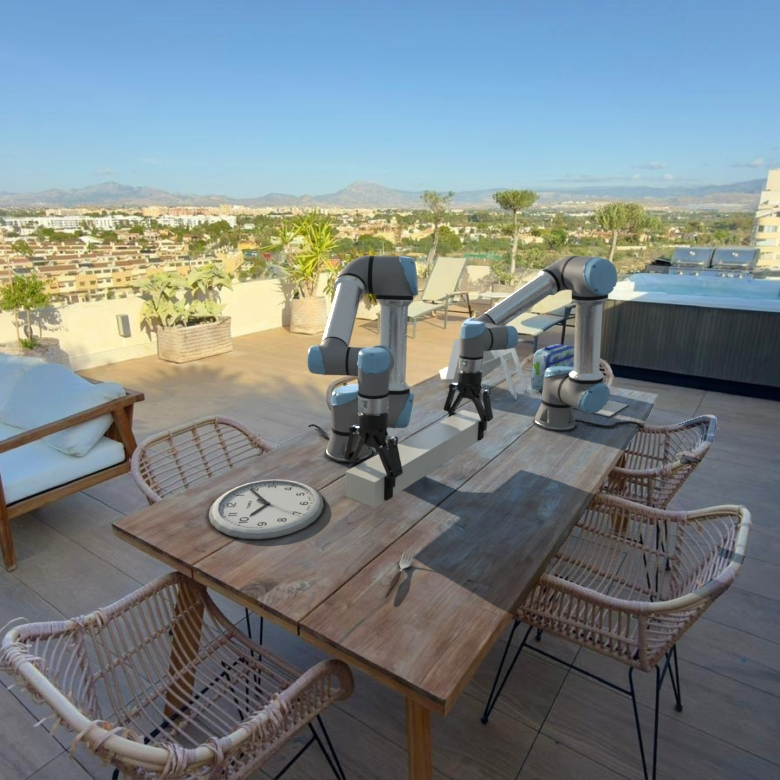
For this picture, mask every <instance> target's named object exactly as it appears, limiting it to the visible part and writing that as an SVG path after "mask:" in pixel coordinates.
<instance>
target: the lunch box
mask: <svg viewBox="0 0 780 780" xmlns="http://www.w3.org/2000/svg"><path fill="white" fill-rule="evenodd" d="M531 364H532V365H531V376H530V377H531V378H530V387H531V389H532V390H536V391H539V392H540V391H541V392H542V391H543V380H544V374H545V370H546V369H547V368H549V367H556V366H566V367H574V346H572V345H565V344H560V343H555V344H552V345H547V346H545V347H542V348H539V349H537V350H536V351H535V353H534V355H533V358H532V363H531Z"/></svg>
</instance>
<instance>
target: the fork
mask: <svg viewBox="0 0 780 780" xmlns="http://www.w3.org/2000/svg"><path fill="white" fill-rule="evenodd" d="M406 549H407V551H406ZM408 553H409V554H408ZM411 553H412V555H411ZM414 555H415V551H413V552H412V549H410V552H409V548H406V547H404V551H403V553H402V556H401V558H400V561H399V566H400V569H399V570H398V572H397V573H396V574H395V575H394V577H393V578H392V580H391V583H390V585H389V587H388V590H387V592H386V594H385V599H387V598H388V596H389V595H390V594H391V592H392V591H393V589H394V588H395V587H396V585H397V583H398V582H399V579H400V576H401V574H402V571H403V570H405V569H408V568H409V567H411V565H412V562H413V559H414ZM410 557H411V558H410Z"/></svg>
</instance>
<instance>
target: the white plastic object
mask: <svg viewBox="0 0 780 780" xmlns="http://www.w3.org/2000/svg"><path fill="white" fill-rule="evenodd" d="M459 352H460V338H459V339H458V338H454V340H453V344H452V349H451V353H450V357H449V362H448V366H446V367H444V368H442V369H440V370H439V371H438V372H439V376H440V381H442V383H443V384H444V385H445V386H449V384H451V383H453V382H455V383H456V384H458V371H459V370H460V369H459ZM510 360H513V363H514V366H515V369H516V372H517V376H518V380H519V382H520V385H521V389H522V391H523V393H524V395H525V396H526V397H528V396H531V395H530V390H529V388H528V387H529V386H528V384H527V381H526V378H525V375H524V371H523V369H522V368H523V367H522V366H521V362H520V359H519V355H518V352H517V349H516V347H514V348H511V349H506V350H492V351H484V354H483V369H482V370H481V372H482V381H484V378H485V377H486V376H487V375H489V374H490V373H492V372H494V371H495V370H496V369H497V368H499V367H500V366H502V370H503V373H504V376H505V380H506V383H507V386H508V390H509V393H510V394H511V395H512V397H513V398H514V399H515V400H517V392H516V391H517V390H516V388H515V385H514V381H513V378H512V375H511V371H510V369H509V365H508V361H510Z"/></svg>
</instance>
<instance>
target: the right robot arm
mask: <svg viewBox="0 0 780 780" xmlns="http://www.w3.org/2000/svg"><path fill="white" fill-rule="evenodd" d="M617 283H618V272H617V269H616V266H615V264H613V262H612V261H610V260H609V259H607V258H603V257H599V256H581V255H569V256H565V257H563V258H561V259H558V260H557V261H555V262H553V263H551V264H550V265H548V266H546V267H545V268H543V269H542V270H540V271H539V272H538V273H537V276H536V277H535V278H534V279H532V280H531V281H529V282H528V283H527V284H525V285H523V286H522V287H521V288H519V289H518V290H516V291H515V292H513V293H512V294H509V296H507V297H505V298H504V299H502V300H501V301H500V302H499V303H497V304H496V305H495V306H493V307H491V308H489V309H488V310H487V311H485V312H484V313H482V314H481V315H479V316H478V317H469V318H466V319H465V320H464V321H463V322H462V323H461V325H460V332H459V339H460V352H459V369H460V370H459V371H458V384H456V383H455V382H453V383H451V384H449V385H448V393H447V396H446V399H445V402H444V406H443V411H444V412H447V413H448V417H450V416H452V415H454V414H456V413H457V412H456V410H457V409H458V407H459V405H460V404H461V402H462V401H463V399H468V400H471V401H472V403H473V404H474V406H475V409H476V411H477V412H476V413H477V414H479V417H480V419H481V420H480V421H479V425H478V440H479V441H478V442H480V441H482V440H484V438H483V436H484V431H485V430H486V429H487V430H488V422H491V421H492V420H494V415H493V408H492V402H491V398H490V396H491V389H484V388H482V381H483V380H482V372H481V370H482V369H483V354H484V351H492V350H506V349H511V348H516V347H517V345H518V343H519V332H518V330H517V328H516V327H515V326H513V325H508V324H509V323H510V322H512V321H513V320H515V319H516V318H518V317H519V316H520V315H522V314H524V313H525V312H527V311H528V310H529V309H531V308H532V307H534V306H536V305H537V304H538V303H539V302H542V300H544V299H546V298H547V297H548V296H555V295H556V294H558V293H560V292H562V291H571V300H572V301H573V302H574V303H575V318H574V319H575V320H574V321H575V322H574V341H573V342H574V344H573V345H574V346H573V347H574V367H566V366H556V367H549V368H547V369H546V370H545V374H544V380H543V391H541V402H540V405H539V407H538V410H537V411H536V413H535V417H534V424H535V425H536V426H537V427H539V428H542V429H544V430H549V431H556V432H567V431H572V430H574V429H575V428H576V423H578V424H579V423H580V424H584V425H588V426H593V427H599V428H604V429H613V428H615V427H617V426H618V425H636V426H638V427H639V428H641V429H645V426H643V424H641V423H640V422H637V421H632V420H628V421H627V420H626V421H625V420H624V421H616V422H615V423H614V424H610V425H609V424H602V423H601V424H600V423H596V422H590V421H587V420H582V419H576V418H575V417H576V416H575V413H574V409H575V410H578V411H579V412H583V413H586V414H591V415H592V414H596V412H598V411H600V410H601V409H602V408H603V407H604V406H605V405H606V403H607V402H608V400H609V399H610V395H611V390H610V388H609V387H608V385H607V384H605V383H604V373H603V372H602V371H601V370H600V363H601V362H600V361H601V344H602V328H603V326H602V325H603V308H604V303H605V302H606V301H607V300H608V299H609V294H611V293H612V292H613V291H614V288H615V287H616V286H617ZM456 391H458V394H457V396H456V398H455V394H456ZM480 394H481V396H480ZM481 397H482V398H481ZM454 398H455V399H454ZM481 400H482V401H481ZM487 421H488V422H487Z"/></svg>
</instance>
